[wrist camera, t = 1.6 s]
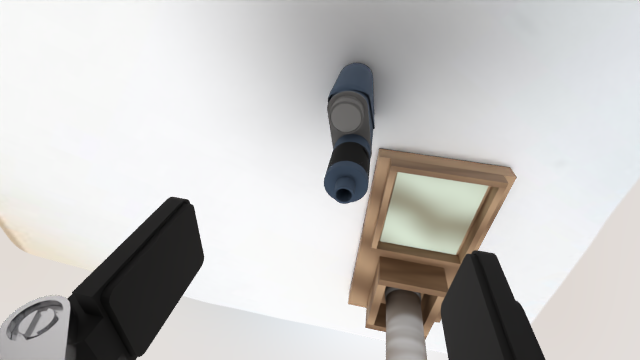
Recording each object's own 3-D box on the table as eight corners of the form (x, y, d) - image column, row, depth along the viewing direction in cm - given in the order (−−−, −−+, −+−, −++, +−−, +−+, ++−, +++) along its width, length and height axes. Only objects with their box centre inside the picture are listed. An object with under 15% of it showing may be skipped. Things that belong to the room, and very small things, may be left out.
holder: (379, 148, 26) (376, 229, 18) (510, 167, 25) (575, 264, 16) (349, 293, 38) (338, 384, 29) (437, 311, 37) (453, 411, 28)
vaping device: (346, 126, 26) (322, 215, 16) (338, 62, 23) (304, 122, 13) (376, 123, 25) (371, 214, 15) (372, 58, 22) (362, 117, 13)
